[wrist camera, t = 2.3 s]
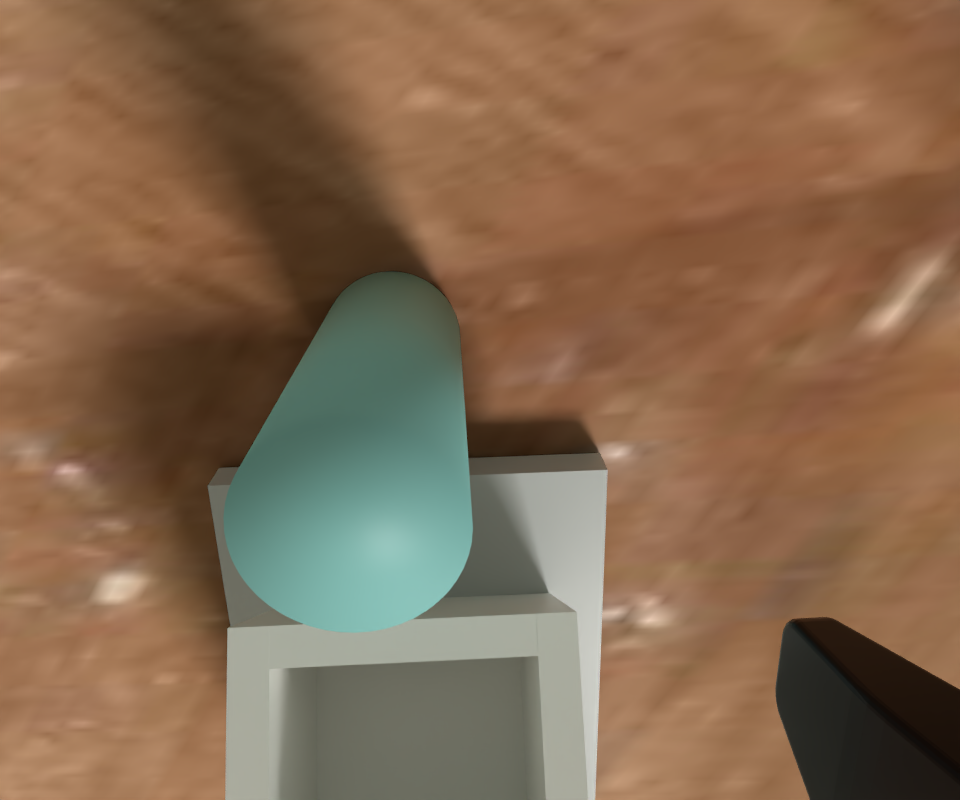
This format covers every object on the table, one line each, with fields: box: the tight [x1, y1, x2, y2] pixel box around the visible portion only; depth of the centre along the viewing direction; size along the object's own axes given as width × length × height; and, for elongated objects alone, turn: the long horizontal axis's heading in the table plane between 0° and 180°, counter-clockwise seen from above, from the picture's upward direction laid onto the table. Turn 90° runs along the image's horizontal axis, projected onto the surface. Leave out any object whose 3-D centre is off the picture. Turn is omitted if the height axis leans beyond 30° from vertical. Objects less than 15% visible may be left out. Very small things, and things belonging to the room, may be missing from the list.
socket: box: [208, 453, 608, 800], centre depth 18 cm, size 12×10×8 cm
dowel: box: [223, 271, 473, 633], centre depth 14 cm, size 3×3×9 cm
